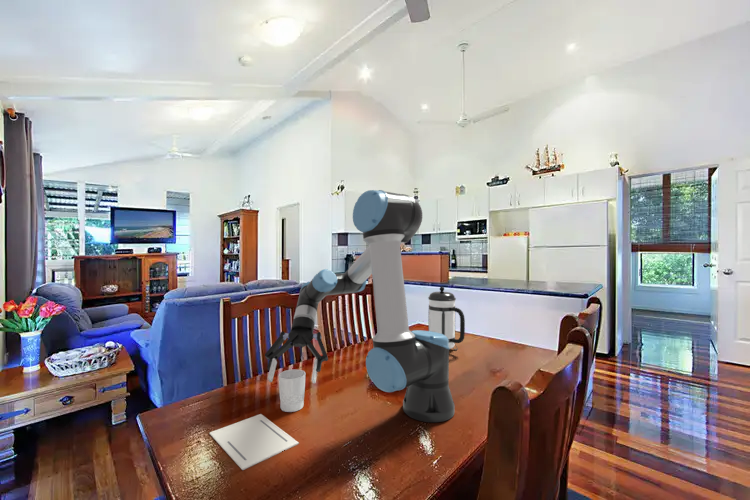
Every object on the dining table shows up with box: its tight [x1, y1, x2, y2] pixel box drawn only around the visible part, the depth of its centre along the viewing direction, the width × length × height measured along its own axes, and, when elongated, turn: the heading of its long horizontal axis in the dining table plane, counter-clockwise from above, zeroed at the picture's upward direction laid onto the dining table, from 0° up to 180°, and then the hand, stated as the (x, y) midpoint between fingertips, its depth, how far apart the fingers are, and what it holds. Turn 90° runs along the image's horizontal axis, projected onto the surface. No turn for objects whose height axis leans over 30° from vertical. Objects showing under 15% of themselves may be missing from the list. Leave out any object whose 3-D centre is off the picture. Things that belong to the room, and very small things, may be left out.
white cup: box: [278, 368, 307, 413], centre depth 101 cm, size 8×8×10 cm
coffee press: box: [427, 286, 466, 351], centre depth 159 cm, size 17×16×30 cm
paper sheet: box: [209, 413, 300, 471], centre depth 84 cm, size 20×14×1 cm
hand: (291, 380), depth 103 cm, fingers open, 13 cm apart
